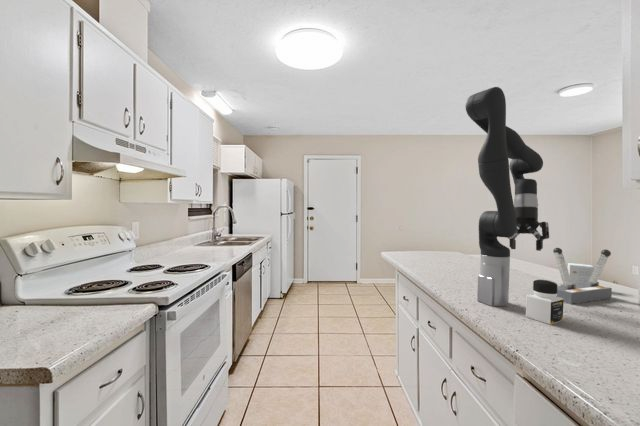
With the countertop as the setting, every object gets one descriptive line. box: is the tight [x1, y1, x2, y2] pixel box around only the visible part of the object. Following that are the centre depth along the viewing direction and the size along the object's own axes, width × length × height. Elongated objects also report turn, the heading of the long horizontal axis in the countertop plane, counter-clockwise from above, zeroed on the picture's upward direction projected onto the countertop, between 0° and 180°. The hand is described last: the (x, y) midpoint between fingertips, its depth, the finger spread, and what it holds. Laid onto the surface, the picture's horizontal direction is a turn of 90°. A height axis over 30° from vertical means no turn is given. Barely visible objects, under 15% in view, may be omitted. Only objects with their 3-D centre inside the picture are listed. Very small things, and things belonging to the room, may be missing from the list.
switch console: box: [556, 281, 613, 305], centre depth 117 cm, size 24×8×6 cm, turn 110°
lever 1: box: [552, 247, 573, 289], centre depth 117 cm, size 3×3×16 cm
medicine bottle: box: [525, 279, 564, 326], centre depth 94 cm, size 7×7×12 cm
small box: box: [567, 262, 595, 284], centre depth 131 cm, size 8×6×10 cm
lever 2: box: [588, 249, 612, 286], centre depth 118 cm, size 3×3×16 cm
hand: (525, 249), depth 113 cm, fingers open, 8 cm apart
